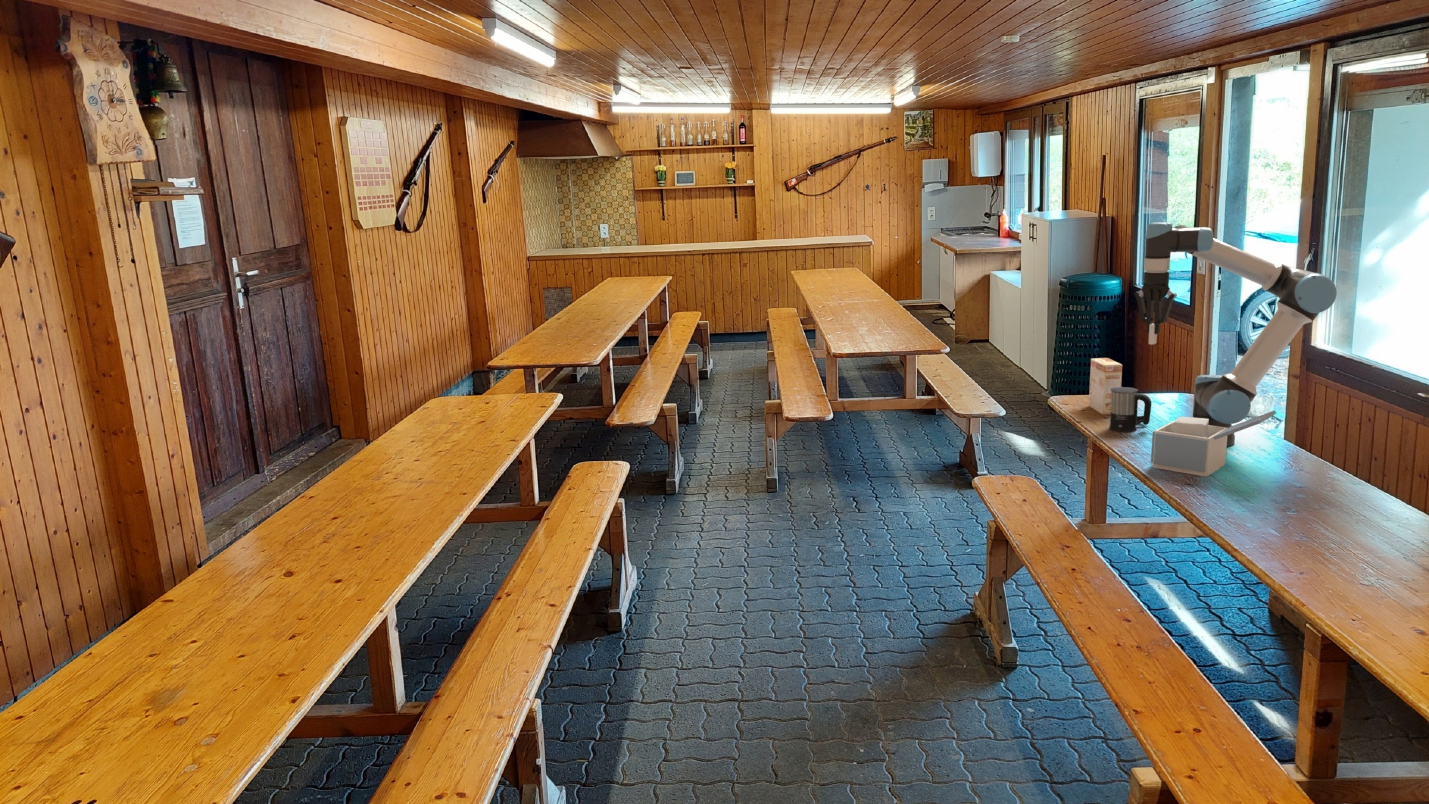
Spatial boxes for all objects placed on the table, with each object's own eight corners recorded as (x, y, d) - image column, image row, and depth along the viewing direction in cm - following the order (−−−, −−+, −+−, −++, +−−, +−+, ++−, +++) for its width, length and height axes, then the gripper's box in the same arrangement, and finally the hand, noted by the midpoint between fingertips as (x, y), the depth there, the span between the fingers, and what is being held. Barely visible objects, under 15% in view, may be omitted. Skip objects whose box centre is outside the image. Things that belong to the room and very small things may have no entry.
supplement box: (1202, 471, 306) (1206, 424, 302) (1171, 468, 310) (1174, 422, 307) (1206, 463, 313) (1209, 418, 310) (1175, 460, 318) (1178, 415, 314)
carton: (1148, 467, 312) (1150, 430, 309) (1170, 454, 324) (1172, 419, 321) (1205, 477, 300) (1208, 439, 297) (1226, 463, 312) (1229, 427, 309)
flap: (1213, 436, 297) (1258, 420, 287) (1230, 426, 308) (1274, 410, 298) (1214, 439, 297) (1260, 423, 287) (1231, 429, 308) (1276, 413, 298)
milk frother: (1109, 431, 355) (1111, 391, 351) (1105, 421, 369) (1107, 382, 366) (1152, 433, 351) (1155, 392, 347) (1146, 422, 365) (1149, 383, 362)
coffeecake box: (1120, 414, 379) (1123, 364, 374) (1101, 414, 379) (1104, 365, 374) (1106, 405, 393) (1108, 357, 389) (1088, 406, 393) (1090, 358, 389)
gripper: (1182, 271, 314) (1177, 343, 319) (1140, 269, 323) (1137, 340, 329) (1173, 273, 309) (1168, 347, 314) (1131, 271, 318) (1127, 343, 323)
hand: (1152, 343), depth 321 cm, fingers closed
